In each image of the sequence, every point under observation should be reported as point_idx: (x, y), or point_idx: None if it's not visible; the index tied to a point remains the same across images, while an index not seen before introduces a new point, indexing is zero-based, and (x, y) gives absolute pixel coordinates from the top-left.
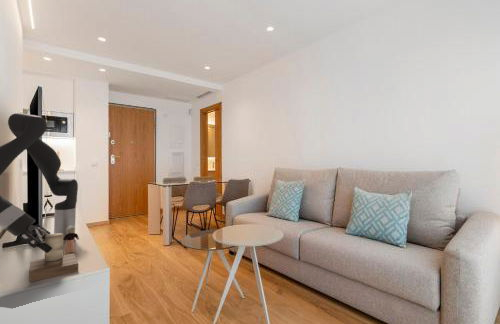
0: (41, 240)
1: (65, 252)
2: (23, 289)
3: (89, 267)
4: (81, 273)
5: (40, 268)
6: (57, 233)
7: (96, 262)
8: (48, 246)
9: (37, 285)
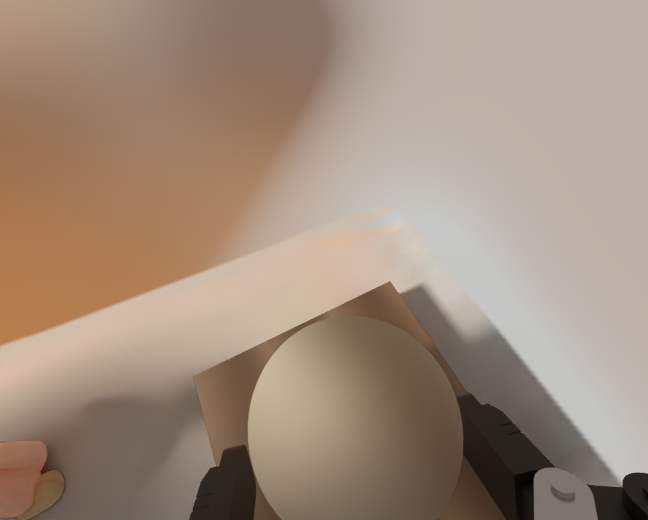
0: (574, 502)
1: (30, 504)
2: (618, 480)
3: (346, 268)
4: (416, 276)
5: (460, 478)
6: (254, 418)
7: (285, 259)
8: (489, 419)
9: (559, 423)
